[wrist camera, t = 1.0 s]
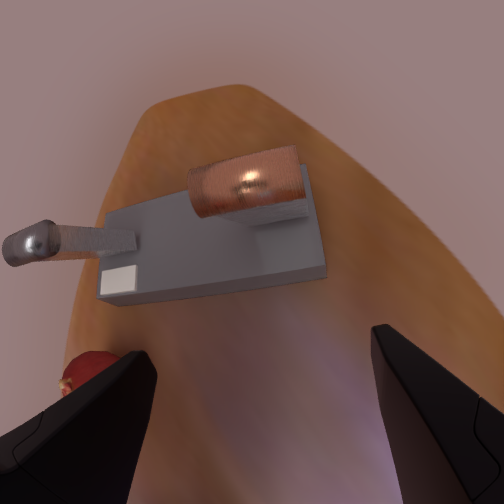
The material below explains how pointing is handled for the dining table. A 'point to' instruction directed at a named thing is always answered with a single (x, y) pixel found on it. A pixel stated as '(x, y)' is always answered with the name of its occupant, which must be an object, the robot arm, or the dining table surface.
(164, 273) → the switch box
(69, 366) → the onion
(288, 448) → the dining table surface
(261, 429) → the dining table surface
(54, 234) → the grey lever
